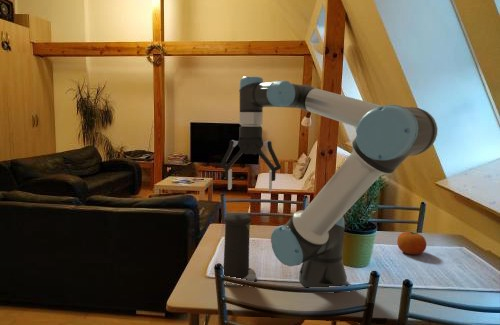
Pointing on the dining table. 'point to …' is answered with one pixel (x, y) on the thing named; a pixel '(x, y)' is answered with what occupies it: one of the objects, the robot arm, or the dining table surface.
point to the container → (236, 245)
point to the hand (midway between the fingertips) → (250, 189)
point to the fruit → (411, 243)
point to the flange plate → (249, 277)
